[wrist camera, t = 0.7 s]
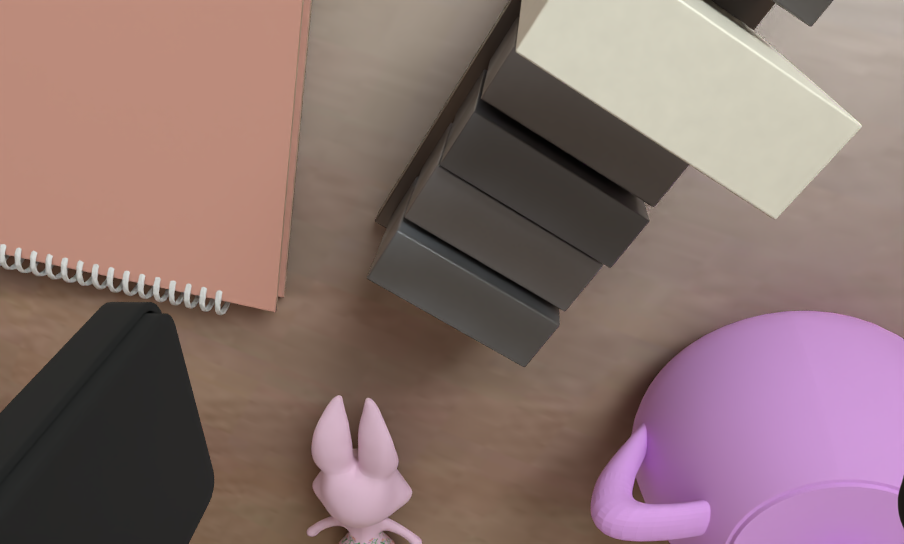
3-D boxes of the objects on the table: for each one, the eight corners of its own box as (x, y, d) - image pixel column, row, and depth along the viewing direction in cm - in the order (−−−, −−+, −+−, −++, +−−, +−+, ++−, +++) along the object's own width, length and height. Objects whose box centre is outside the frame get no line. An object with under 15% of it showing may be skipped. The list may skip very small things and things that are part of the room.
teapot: (943, 549, 40) (1064, 760, 31) (559, 491, 41) (564, 680, 32) (1074, 326, 34) (1278, 510, 24) (611, 263, 34) (637, 418, 25)
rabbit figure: (427, 554, 46) (425, 376, 37) (413, 654, 42) (407, 479, 32) (324, 543, 47) (296, 365, 37) (298, 641, 42) (259, 466, 33)
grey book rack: (631, -198, 26) (656, -209, 20) (815, -62, 28) (887, -38, 22) (378, 212, 34) (346, 285, 29) (530, 300, 36) (528, 386, 30)
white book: (571, -97, 27) (588, -64, 17) (753, 30, 28) (864, 126, 19) (523, -19, 28) (514, 51, 19) (699, 99, 30) (775, 221, 20)
